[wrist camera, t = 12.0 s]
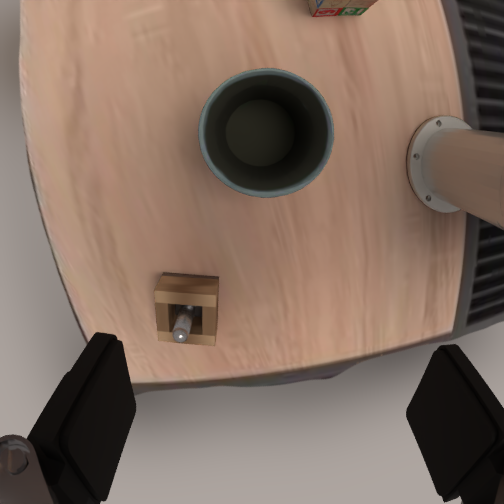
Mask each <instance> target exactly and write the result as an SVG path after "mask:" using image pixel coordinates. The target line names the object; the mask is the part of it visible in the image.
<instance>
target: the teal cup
mask: <svg viewBox="0 0 504 504" xmlns="http://www.w3.org/2000/svg"><path fill="white" fill-rule="evenodd" d="M198 138H199V143H200V149H201V152H202V155H203V157H204V160H205V161H206V163H207V165H208V167H209V168H210V170H211V171H212V172H213V173H214V175H215V176H216V177H217V178H218V179H220V180H221V181H222V182H223V183H224V184H225V185H227V186H229V187H230V188H232V189H234V190H236V191H238V192H240V193H243V194H246V195H249V196H255V197H261V198H271V197H278V196H283V195H287V194H290V193H294V192H296V191H298V190H300V189H302V188H304V187H305V186H306V185H308V184H309V183H311V182H312V181H313V180H314V179H315V178H316V177H317V176H318V175H319V174H320V172H321V171H322V170H323V168H324V167H325V165H326V163H327V161H328V159H329V157H330V154H331V151H332V147H333V142H334V125H333V119H332V115H331V112H330V109H329V107H328V105H327V103H326V101H325V100H324V98H323V97H322V95H321V94H320V93H319V92H318V90H317V89H316V88H315V87H314V86H313V85H311V84H310V83H309V82H307V81H306V80H305V79H303V78H301V77H299V76H297V75H296V74H294V73H291V72H288V71H285V70H280V69H275V68H261V69H255V70H249V71H245V72H242V73H240V74H238V75H235V76H233V77H231V78H229V79H228V80H227V81H225V82H224V83H222V84H221V85H220V86H219V87H218V88H217V89H216V90H215V91H214V92H213V93H212V94H211V96H210V97H209V98H208V100H207V102H206V104H205V106H204V108H203V110H202V113H201V116H200V121H199V128H198Z"/></svg>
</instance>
